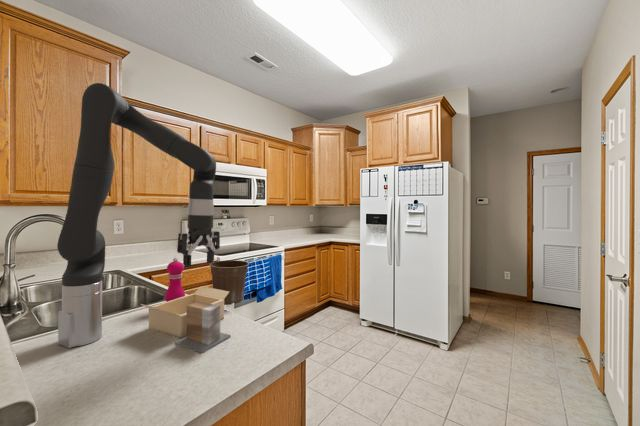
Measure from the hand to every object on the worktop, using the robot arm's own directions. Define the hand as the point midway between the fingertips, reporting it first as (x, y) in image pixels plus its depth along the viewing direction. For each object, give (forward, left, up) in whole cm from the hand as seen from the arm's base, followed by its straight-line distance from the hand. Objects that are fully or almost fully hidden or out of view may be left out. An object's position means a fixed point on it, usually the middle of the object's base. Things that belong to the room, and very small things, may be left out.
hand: (199, 264), depth 91 cm
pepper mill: (+12, +26, -22) cm, 36 cm away
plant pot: (+29, +14, -22) cm, 39 cm away
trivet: (-3, -5, -22) cm, 23 cm away
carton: (+4, +9, -22) cm, 24 cm away
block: (-3, -5, -21) cm, 22 cm away
